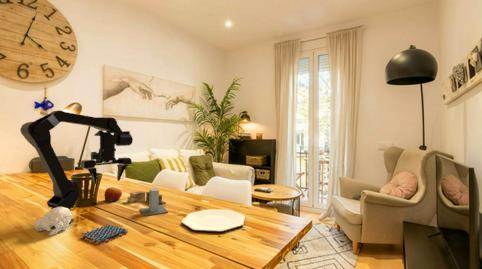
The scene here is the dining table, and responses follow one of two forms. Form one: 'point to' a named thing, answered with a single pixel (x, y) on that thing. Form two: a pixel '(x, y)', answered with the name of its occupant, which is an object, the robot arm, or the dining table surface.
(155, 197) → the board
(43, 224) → the animal skull
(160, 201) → the brown wooden block
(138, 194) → the offcut stack
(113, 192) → the fruit
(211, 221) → the plate
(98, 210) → the dining table surface
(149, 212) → the felt pad
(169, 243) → the dining table surface
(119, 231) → the woven mat
